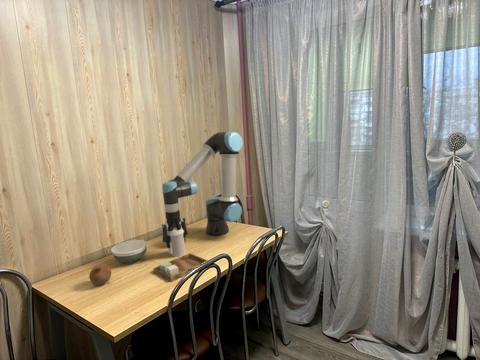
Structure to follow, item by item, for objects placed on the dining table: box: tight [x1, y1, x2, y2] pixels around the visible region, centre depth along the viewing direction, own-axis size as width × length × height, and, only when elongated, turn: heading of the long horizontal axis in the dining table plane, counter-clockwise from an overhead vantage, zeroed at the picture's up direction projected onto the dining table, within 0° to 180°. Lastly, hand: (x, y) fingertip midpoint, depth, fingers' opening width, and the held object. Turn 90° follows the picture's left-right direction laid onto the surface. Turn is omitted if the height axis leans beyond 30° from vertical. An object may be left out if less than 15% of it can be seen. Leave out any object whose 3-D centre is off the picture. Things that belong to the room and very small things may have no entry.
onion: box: [88, 264, 112, 286], centre depth 145 cm, size 10×9×10 cm
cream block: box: [167, 265, 179, 276], centre depth 148 cm, size 4×4×4 cm
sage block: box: [159, 261, 172, 274], centre depth 152 cm, size 4×4×4 cm
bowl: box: [110, 239, 148, 265], centre depth 169 cm, size 19×19×8 cm
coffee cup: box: [167, 227, 185, 258], centre depth 170 cm, size 10×10×15 cm
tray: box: [152, 252, 209, 283], centre depth 155 cm, size 22×16×2 cm
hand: (177, 250), depth 171 cm, fingers closed on coffee cup, 7 cm apart
